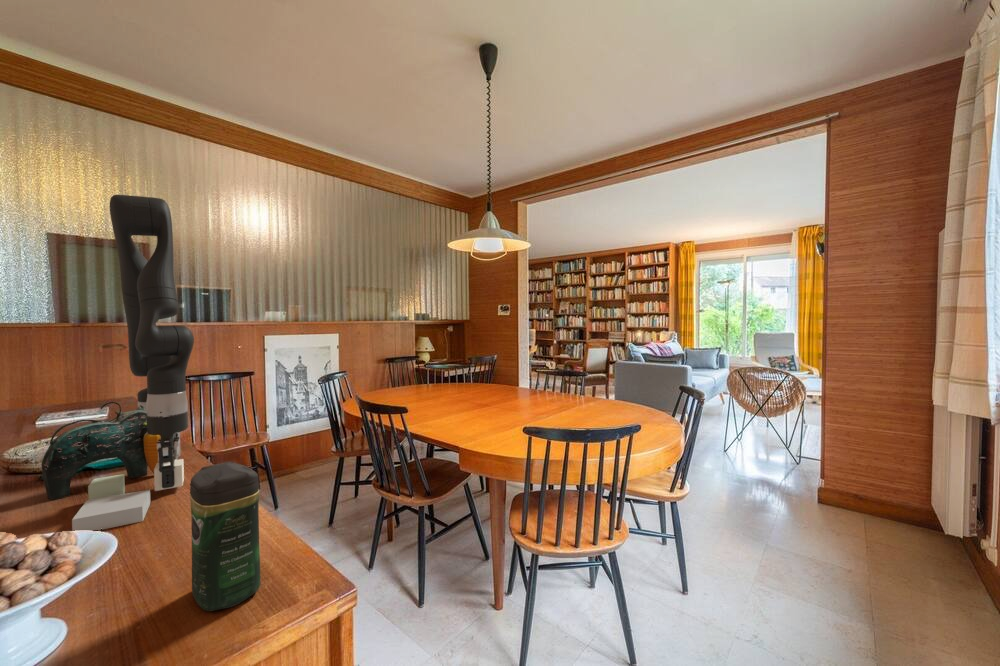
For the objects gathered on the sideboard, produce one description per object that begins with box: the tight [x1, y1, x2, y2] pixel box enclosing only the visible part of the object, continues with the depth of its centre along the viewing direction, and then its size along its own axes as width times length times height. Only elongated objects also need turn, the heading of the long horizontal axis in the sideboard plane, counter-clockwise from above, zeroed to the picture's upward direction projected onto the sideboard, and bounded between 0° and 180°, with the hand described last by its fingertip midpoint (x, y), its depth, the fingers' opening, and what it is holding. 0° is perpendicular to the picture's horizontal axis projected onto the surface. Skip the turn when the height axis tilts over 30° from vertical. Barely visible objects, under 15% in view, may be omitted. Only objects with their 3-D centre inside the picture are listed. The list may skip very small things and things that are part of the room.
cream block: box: [153, 458, 185, 492], centre depth 98 cm, size 5×5×5 cm
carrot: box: [143, 423, 161, 475], centre depth 107 cm, size 5×5×15 cm
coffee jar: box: [189, 461, 261, 612], centre depth 61 cm, size 10×8×19 cm
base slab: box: [71, 489, 151, 531], centre depth 84 cm, size 10×10×3 cm
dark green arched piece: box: [41, 401, 148, 501], centre depth 101 cm, size 20×6×20 cm, turn 152°
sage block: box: [87, 473, 126, 500], centre depth 92 cm, size 5×5×5 cm
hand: (169, 482), depth 98 cm, fingers closed on cream block, 5 cm apart
